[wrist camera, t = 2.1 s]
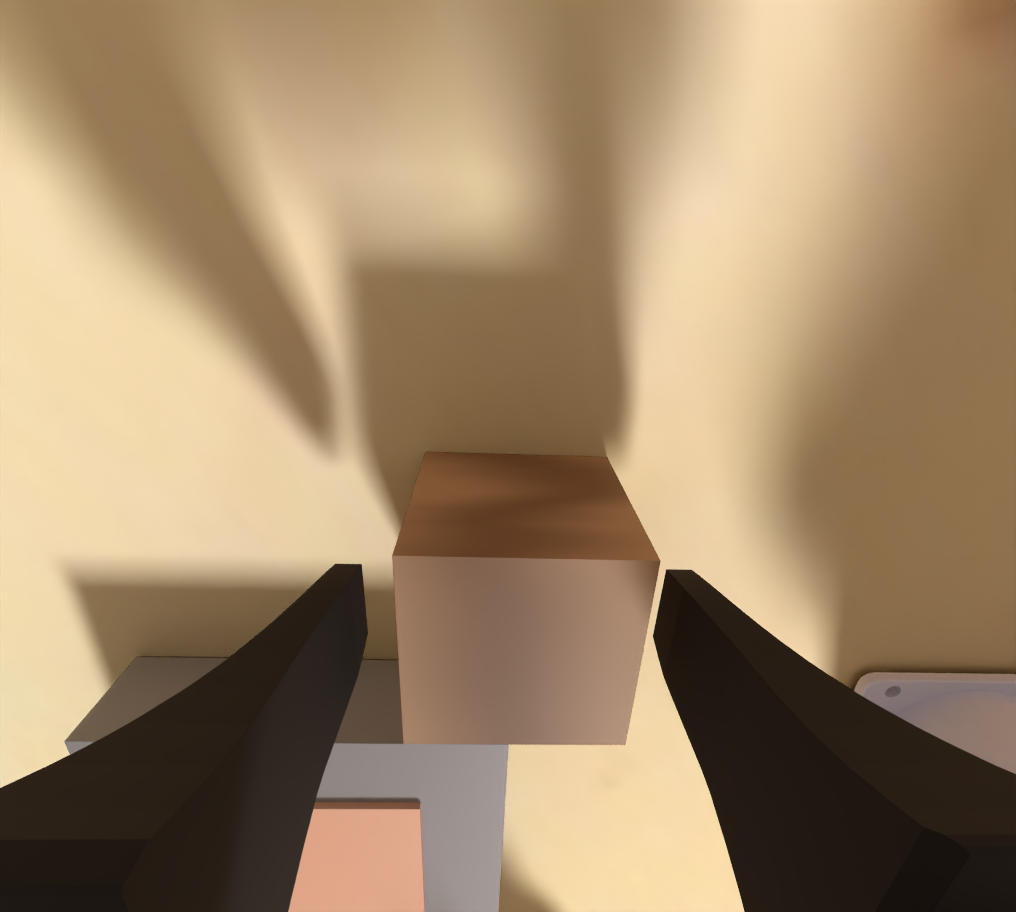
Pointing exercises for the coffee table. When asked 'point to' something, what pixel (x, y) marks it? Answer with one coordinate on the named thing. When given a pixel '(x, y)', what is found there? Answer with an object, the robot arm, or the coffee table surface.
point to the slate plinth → (366, 799)
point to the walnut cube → (520, 601)
